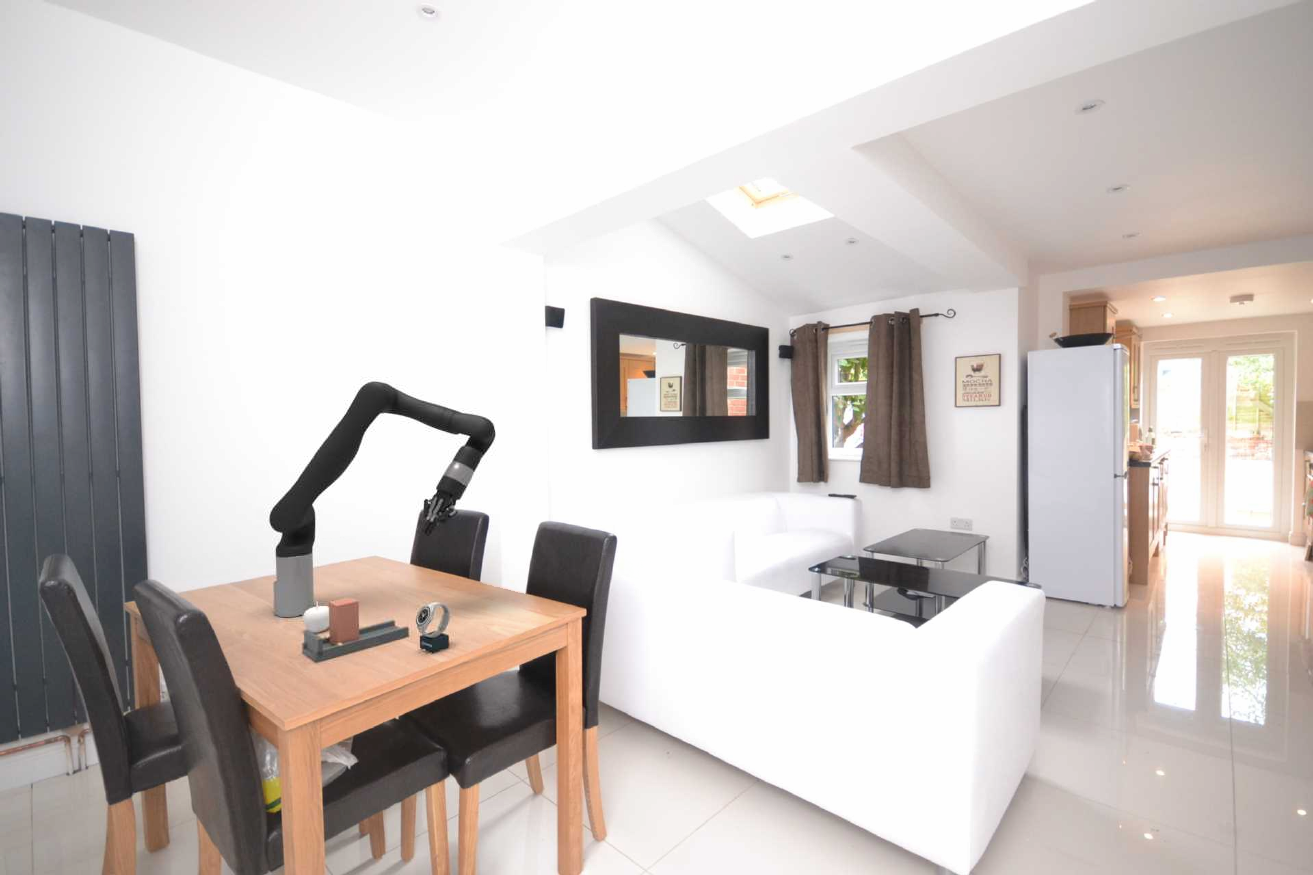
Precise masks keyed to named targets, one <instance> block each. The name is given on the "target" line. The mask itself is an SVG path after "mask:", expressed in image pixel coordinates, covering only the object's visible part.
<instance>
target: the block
mask: <svg viewBox="0 0 1313 875" xmlns="http://www.w3.org/2000/svg"><path fill="white" fill-rule="evenodd" d="M328 607H329V626H328V628H329V631H328V633H329V636H330V643H332V644H333V645H337V643H342V644H343V643H346V642H350V641H354V640H357V639H359V628H360V614H359V611H360V609H359V608H360V606H359V600H357V599H354V598H353V597H346V598H340V599H337V600H336V599H335V600H331V601H328Z"/></svg>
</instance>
